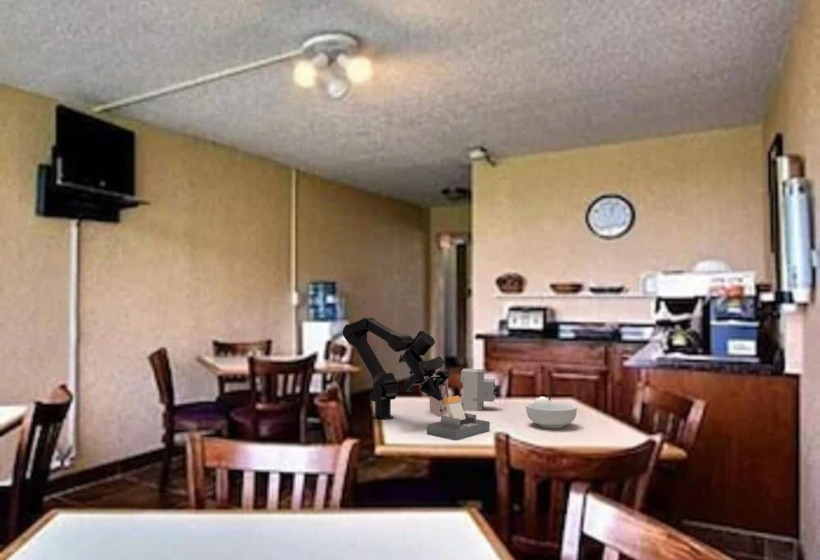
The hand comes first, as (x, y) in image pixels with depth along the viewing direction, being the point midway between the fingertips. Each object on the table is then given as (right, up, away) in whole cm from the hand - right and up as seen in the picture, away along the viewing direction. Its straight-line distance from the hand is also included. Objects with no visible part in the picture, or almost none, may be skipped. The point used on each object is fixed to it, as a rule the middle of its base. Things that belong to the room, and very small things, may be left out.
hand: (441, 400), depth 227 cm
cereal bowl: (+38, -10, +5) cm, 40 cm away
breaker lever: (+6, -6, -5) cm, 10 cm away
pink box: (-1, -10, +26) cm, 28 cm away
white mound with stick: (+40, -10, +26) cm, 49 cm away
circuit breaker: (+17, -10, +35) cm, 40 cm away
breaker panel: (+6, -10, -5) cm, 12 cm away
